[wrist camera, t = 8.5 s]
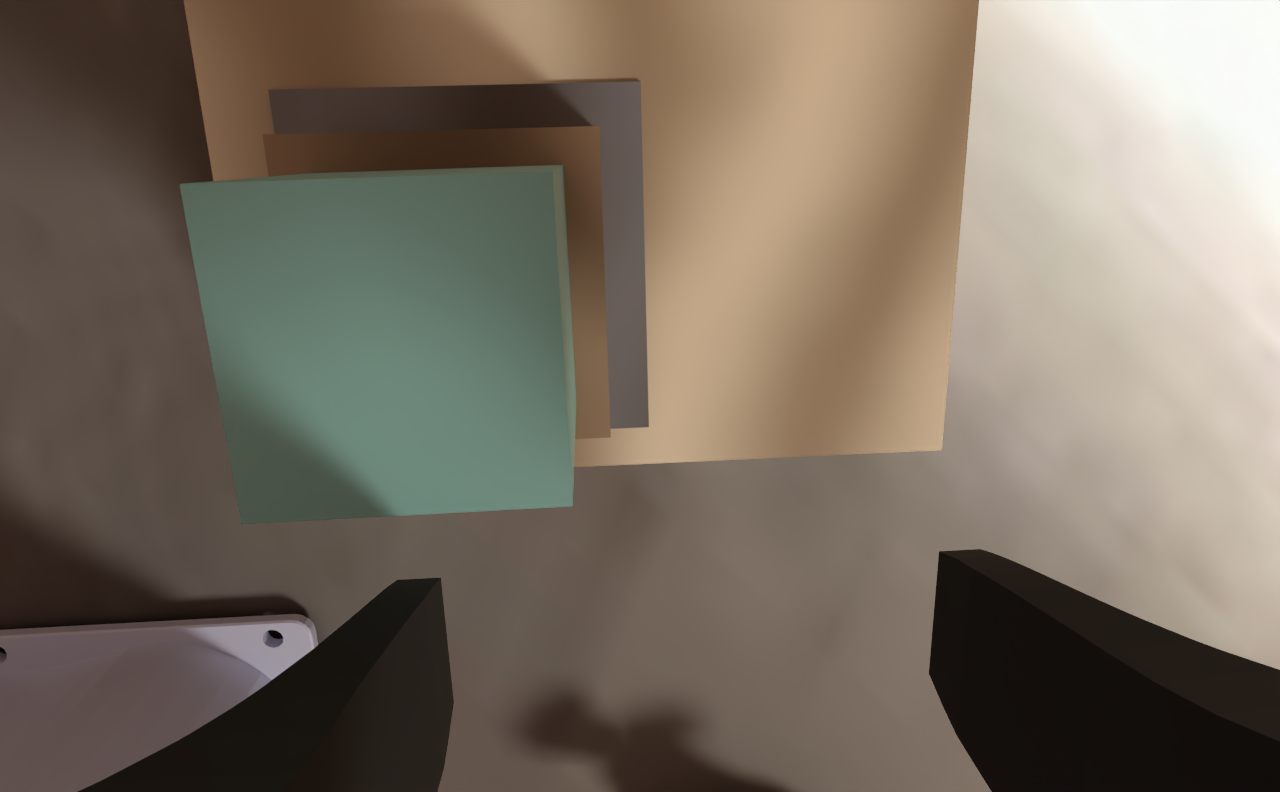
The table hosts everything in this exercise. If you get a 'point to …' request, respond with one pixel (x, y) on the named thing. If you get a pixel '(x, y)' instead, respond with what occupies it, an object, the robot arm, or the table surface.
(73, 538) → the table surface
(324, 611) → the table surface
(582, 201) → the walnut base block
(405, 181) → the teal block
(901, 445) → the board
